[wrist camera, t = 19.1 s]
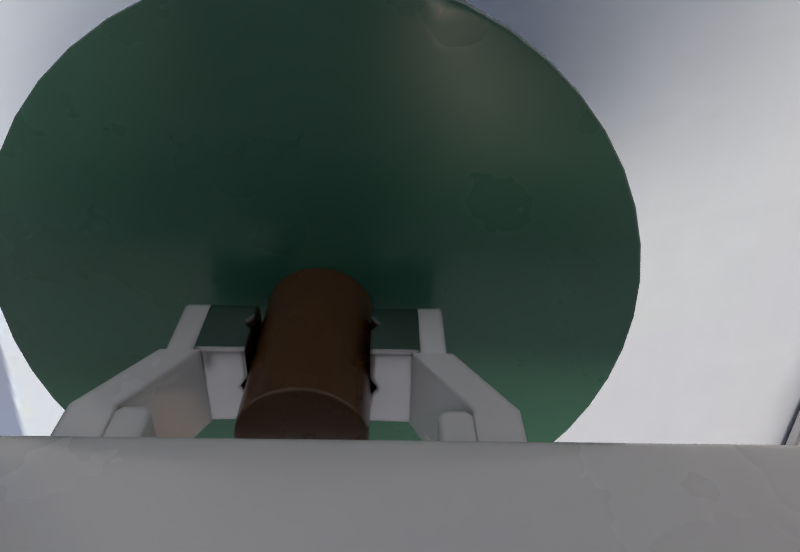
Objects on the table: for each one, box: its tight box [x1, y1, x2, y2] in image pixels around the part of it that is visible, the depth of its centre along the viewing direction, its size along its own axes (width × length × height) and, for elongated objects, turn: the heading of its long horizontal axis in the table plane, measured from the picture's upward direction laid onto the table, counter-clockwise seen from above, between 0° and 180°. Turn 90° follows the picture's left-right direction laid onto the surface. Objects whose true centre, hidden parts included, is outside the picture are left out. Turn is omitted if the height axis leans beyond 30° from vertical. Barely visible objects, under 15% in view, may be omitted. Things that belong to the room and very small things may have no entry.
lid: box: [0, 0, 641, 442], centre depth 14 cm, size 14×14×5 cm
